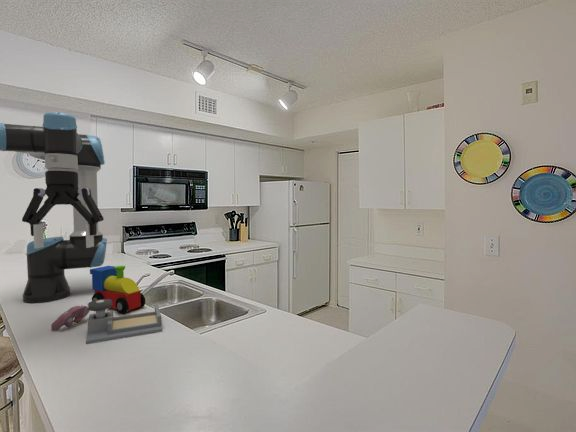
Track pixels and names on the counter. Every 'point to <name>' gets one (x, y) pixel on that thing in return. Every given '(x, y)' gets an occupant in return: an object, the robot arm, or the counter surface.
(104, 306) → the wheel cap
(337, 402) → the counter surface
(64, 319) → the video game controller
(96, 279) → the toy train
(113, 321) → the grey tray
